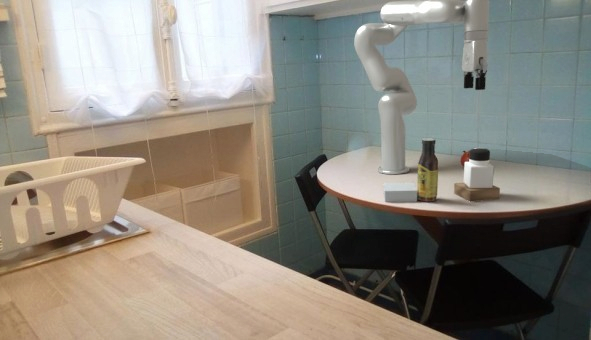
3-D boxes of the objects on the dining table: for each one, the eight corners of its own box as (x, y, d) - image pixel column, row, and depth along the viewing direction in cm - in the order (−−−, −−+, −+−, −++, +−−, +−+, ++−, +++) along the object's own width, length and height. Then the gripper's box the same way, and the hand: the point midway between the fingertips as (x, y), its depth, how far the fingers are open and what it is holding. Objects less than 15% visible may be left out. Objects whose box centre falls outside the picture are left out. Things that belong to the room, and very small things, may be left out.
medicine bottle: (492, 188, 149) (495, 150, 146) (469, 188, 149) (471, 151, 146) (485, 182, 156) (487, 146, 153) (463, 182, 156) (465, 146, 153)
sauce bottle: (414, 197, 155) (414, 137, 151) (433, 196, 156) (433, 136, 151) (421, 203, 149) (421, 141, 144) (440, 201, 149) (441, 139, 145)
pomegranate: (482, 172, 191) (471, 154, 197) (487, 161, 186) (475, 142, 192) (465, 176, 190) (454, 158, 196) (470, 164, 185) (459, 146, 191)
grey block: (383, 194, 162) (383, 183, 161) (413, 193, 161) (413, 182, 160) (385, 203, 153) (384, 191, 152) (416, 202, 151) (416, 190, 150)
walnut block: (454, 195, 158) (454, 183, 157) (481, 192, 159) (482, 180, 158) (470, 203, 148) (470, 190, 147) (499, 200, 149) (499, 188, 149)
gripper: (455, 38, 166) (454, 88, 170) (475, 36, 149) (473, 91, 153) (476, 37, 166) (474, 87, 170) (498, 35, 149) (496, 89, 153)
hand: (474, 88), depth 162 cm, fingers open, 9 cm apart
